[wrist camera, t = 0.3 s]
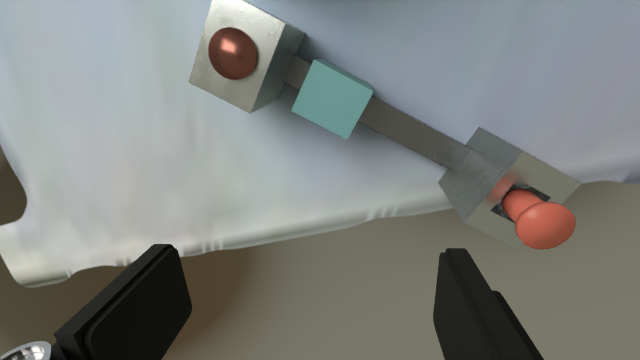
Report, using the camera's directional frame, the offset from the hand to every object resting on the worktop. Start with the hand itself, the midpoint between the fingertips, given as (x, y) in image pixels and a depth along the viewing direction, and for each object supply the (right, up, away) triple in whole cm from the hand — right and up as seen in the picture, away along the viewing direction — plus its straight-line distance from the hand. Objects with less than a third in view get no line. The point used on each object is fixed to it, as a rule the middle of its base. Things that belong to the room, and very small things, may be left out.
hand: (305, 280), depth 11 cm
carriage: (+3, +14, +24) cm, 28 cm away
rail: (+7, +11, +25) cm, 28 cm away
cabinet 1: (-5, +18, +24) cm, 30 cm away
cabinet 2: (+20, +5, +26) cm, 33 cm away
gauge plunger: (+19, +2, +17) cm, 25 cm away
